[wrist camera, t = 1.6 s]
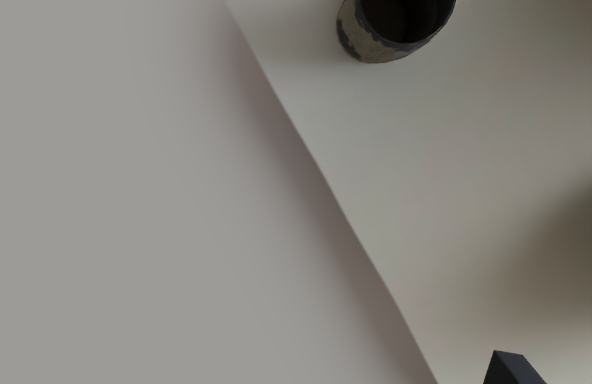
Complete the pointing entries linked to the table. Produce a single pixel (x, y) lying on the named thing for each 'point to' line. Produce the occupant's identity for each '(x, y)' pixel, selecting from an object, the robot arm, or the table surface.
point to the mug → (389, 27)
